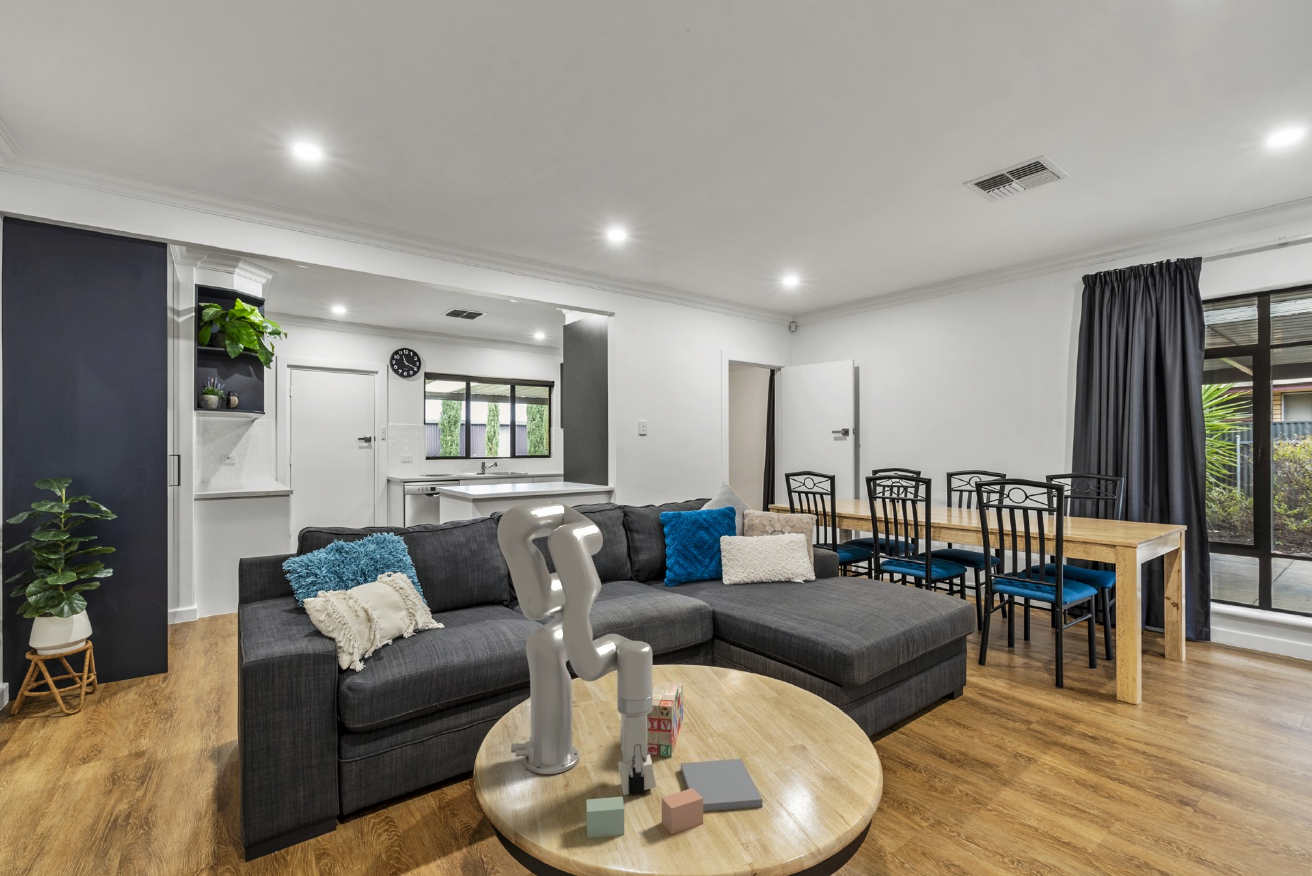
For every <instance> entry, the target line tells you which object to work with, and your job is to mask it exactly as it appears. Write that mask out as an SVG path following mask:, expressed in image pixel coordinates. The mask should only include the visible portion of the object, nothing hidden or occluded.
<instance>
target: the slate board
mask: <svg viewBox="0 0 1312 876" xmlns="http://www.w3.org/2000/svg"><path fill="white" fill-rule="evenodd" d="M680 771H681V772H680V773H681V774H682V777H683V780H684V784H685V787H686V790H688V789H691V788H693V789H694V790H695V791H696V792H697V793H698V794H699V795H700V796H701V797H702V798H703V813H704V812H715V811H724V810H726V811H727V810H728V811H729V810H739V809H750V808H751V809H752V808H760V807H761V808H762V807H763V797H762V795H761V794H760V792H759V790H758V788H757V786H756V784H755V782H754V781H753V779H752V776H751V774H750V773H749V771H748V769H747V767H746V765H745V763H744V761H743V760H742V758H734V759H733V758H731V759H718V760H707V761H706V760H705V761H694V762H693V761H691V762H681V763H680Z"/></svg>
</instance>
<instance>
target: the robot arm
mask: <svg viewBox="0 0 1312 876" xmlns="http://www.w3.org/2000/svg"><path fill="white" fill-rule="evenodd" d="M496 535H497V542H498V545H499V547H500V550H501V551H500V552H501V553H502V556H503V557H504V559H505V562H506V564H507V567H508V570H509V573H510V577H511V580H512V583H513V584H512V585H513V587H514V591H515V594H516V597H517V601H518V604H519V607H520V609H521V612H522V614H523V616H524V617H525V618H526V619H528V620H529V621H539V620H543V619H546V618H549V617H552V616H554V618H555V620H553V621H551V622H548V623H545V624H543V625H541V626H539V627H537V628H535V629H534V631H532V632H531V634H529V636H528V638H527V640H526V644H525V652H526V658H527V663H528V670H529V681H530V684H529V687H530V692H529V693H530V736H529V740H526V741H525V742H522V743H519V742H517V743H511V744H510V745H511V746H510V753H511V754H512V753H514V754H515V758H516V757H523V765H524V767H525V768H526V769H527V770H528V771H530V772H533V773H535V774H537V775H538V774H540V775H554V774H560V773H563V772H566V771H570V769H572V768H574V767H575V766H576V764H578V762H579V761H580V751H579V750H578V748H576V747H575V746H574V745H573V681H572V677H571V676H572V675H571V674H570V673H569V670H568V669H567V662H568V661H569V663H570V665H571V667H572V669H573V671H574V673H575V675H576V676H578V678H579V679H581V680H582V681H585V682H594V681H595V682H596V681H597V680H599V679H601V678H604V677H605V676H606V675H608V674H610V673H612V672H614V671H617V672H616V676H617V678H616V679H617V682H616V683H617V684H616V686H617V687H616V688H617V695H616V698H617V699H616V703H617V705H616V706H617V712H618V713H619V714H621V721H620V722H621V723H620V724H621V725H620V726H621V730H620V731H621V732H620V734H621V735H620V749H621V755H622V761H623V762H624V763H625V764H626V765H627V764H630V775H629V794H628V795H629V796H638V795H639V796H640V795H644V794H645V790H644V774H643V762H644V763H645V762H646V761H647V742H648V728H647V714H648V713H650V712H651V711H652V709H653V693H652V691H653V649H652V647H651V645H650V644H648V643H647V642H644V641H640V640H631V639H629V638H627V637H624V636H622V635H620V634H618V633H608V634H605V635H603V636H601V637H599V638H596V639H595V640H593V637H594V636H593V635H594V633H593V627H592V623H591V620H590V613H591V610H592V609H591V608H592V606H593V604H594V602H595V601H596V599H597V597H598V595H599V594H600V592H601V590H602V583H601V578H600V577H599V574H598V571H597V569H596V566H595V563H594V561H593V560H594V559H593V557H592V556H594V555H596V554H598V553H599V552H600V550H601V549H602V547H603V545H604V544H603V543H604V539H603V533H602V532H601V530H600V528H599V526H598V525H597V524H596V523H595V522H594V521H593V520H591V519H590V518H588V517H586V516H585V515H584V514H582V513H580V512H578V511H577V510H575V508H572V507H570V506H569V505H567V504H566V503H564V502H562V501H558V500H555V499H554V500H553V499H552V500H550V499H549V500H544V501H543V500H542V501H536V502H528V503H522V504H517V505H515V506H512V507H510V508H509V509H508V510H507V511H505V512H504V513H503V515H501V518H500V519H499V522H498V525H497V533H496ZM543 537H547V548H548V551H549V553H550V554H549V555H550V556H551V559H552V562H553V566H554V569H555V572H552V573H550V572H549V569H548V566H547V564H546V560H545V556H544V555H543V553H542V552H541V551H540V549H539V547H538V546H536V545H535V544H534V543H533V540H534V539H538V538H543ZM633 758H635V760H632V759H633ZM633 765H635V767H634V768H633Z"/></svg>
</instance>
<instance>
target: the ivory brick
mask: <svg viewBox="0 0 1312 876" xmlns="http://www.w3.org/2000/svg"><path fill="white" fill-rule="evenodd" d="M651 757H652V756H650V754H649V755H647V761H646V762H645V763H644V762H643V774H644V791H645V790H646V791H647V790H649V789H654V788H657V784H656V777H655V772H654V769H653V762H652V758H651ZM632 760H635V758H633V759H632ZM617 763H618V765H617V766H618V772H619V777H620V782H621V788H622V794H623V796H626V795H629V775H630V764H627V765H626V764H625V763H624V762H623V760H621V761H618V762H617ZM634 767H635V765H633V768H634Z"/></svg>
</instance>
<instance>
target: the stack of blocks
mask: <svg viewBox="0 0 1312 876" xmlns="http://www.w3.org/2000/svg"><path fill="white" fill-rule="evenodd" d="M652 693H653V709H652V711H651V712H650V713H648V714H647V728H648V742H647V755H649V754H650V757H665V758H672V757H673V754H674V751H675V749H676V744H677V742H678V736H679V732H680V728H681V726H682V722H683V719H684V695H683V683H682V682H681V683H680V682H667V681H666V682H665V681H660V682H659V684H656V683H655V684H654V685H653V687H652Z"/></svg>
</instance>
